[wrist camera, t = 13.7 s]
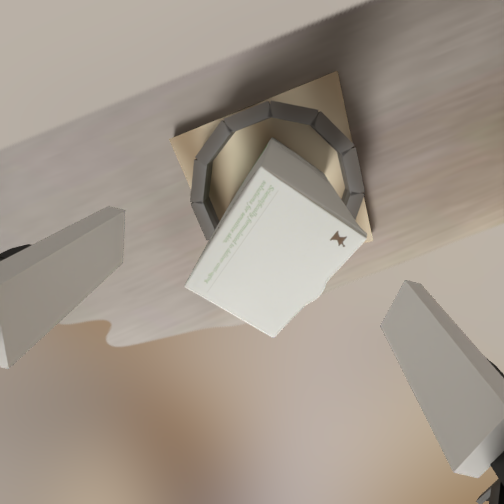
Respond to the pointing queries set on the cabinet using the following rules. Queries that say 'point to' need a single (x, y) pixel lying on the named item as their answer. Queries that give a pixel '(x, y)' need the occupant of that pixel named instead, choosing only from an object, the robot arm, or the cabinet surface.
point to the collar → (257, 137)
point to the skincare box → (276, 242)
